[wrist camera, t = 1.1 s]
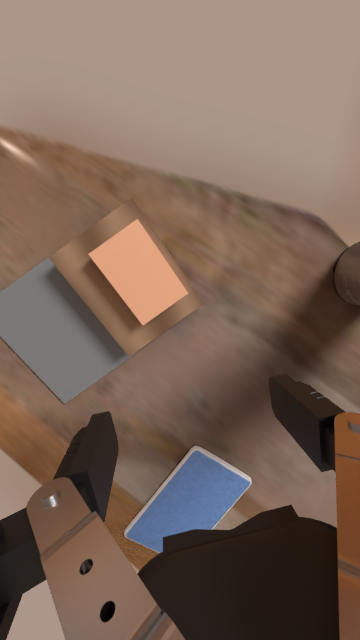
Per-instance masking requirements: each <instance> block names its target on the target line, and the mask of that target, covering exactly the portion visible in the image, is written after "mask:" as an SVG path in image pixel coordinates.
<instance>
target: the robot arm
mask: <svg viewBox="0 0 360 640" xmlns="http://www.w3.org/2000/svg"><path fill="white" fill-rule="evenodd" d="M334 282H335V287H336V290H337V292H338V294H339V295H340V297H341V298H342V299H343V300H344V301H346V302H348V303H350V304H353V305H358V306H360V242H358V243H355V244H353V245H352V246H351V247H349V248H348V249H347V250H346V251H345V252H344V253H343V254H342V256H341V257H340V259H339V261H338V263H337V265H336V269H335V273H334ZM269 385H270V395H271V405H272V409H273V412H274V414H275V416H276V418H277V419H278V420H279V421H280V423H281V424H282V425H283V426H284V427H285V429H286V430H287V431H288V432H289V433H290V435H291V436H292V437H293V438H294V439H295V441H296V442H297V443H298V444H299V445H300V447H301V448H302V449H303V450H304V451H305V453H306V454H307V455H308V456H309V457H310V459H311V460H312V461H313V462H314V463H315V465H316V466H317V467H318V468H319V469H320V471H321V472H324V471H328V470H332V469H333V470H334V471H335V474H336V511H337V528H336V527H334V526H332V525H329V524H327V523H324V522H322V521H319V520H315V519H311V518H305V517H298V515H297V514H296V512H295V510H294V508H293V507H292V505H289V506H285V507H281V508H277V509H273V510H269V511H265V512H261V513H259V514H257V515H256V516H254V517H252V518H251V519H249V520H247V521H246V522H244V523H242V524H241V525H239V526H237V527H236V528H234V529H232V530H206V529H194V530H190V531H186V532H182V533H178V534H174V535H170V536H166V537H163V552H161V553H159V554H158V555H156V556H155V557H154V558H152V559H151V560H150V561H149V562H148V563H147V564H146V565H145V566H144V567H143V568H142V569H141V570H140V571H139V572H138V574H137V573H136V572H135V570H134V568H133V567H132V565H131V564H130V562H129V561H128V559H127V558H126V556H125V555H124V553H123V552H122V550H121V549H120V547H119V546H118V544H117V543H116V541H115V539H114V538H113V536H112V535H111V533H110V532H109V530H108V529H107V527H106V526H105V524H104V521H105V516H106V511H107V506H108V501H109V496H110V491H111V486H112V481H113V476H114V471H115V466H116V461H117V456H118V440H117V436H116V432H115V428H114V424H113V421H112V417H111V414H110V412H109V411H108V412H103V413H98V414H94V415H92V417H91V419H90V422H89V424H88V426H87V427H85V428H82V429H81V430H80V431H79V432H78V433H77V434H76V435H75V436H74V437H73V439H72V442H71V444H70V447H69V448H68V450H67V452H66V455H65V456H64V458H63V460H62V462H61V464H60V466H59V468H58V470H57V472H56V474H55V476H54V478H53V480H51V481H49V482H48V483H46V484H44V485H43V486H42V487H40V488H39V489H38V490H37V491H36V492H35V493H34V494H33V495H32V497H31V498H30V500H29V502H28V504H27V507H26V508H24V509H22V510H20V511H18V512H16V513H14V514H12V515H10V516H8V517H6V518H4V519H2V520H0V640H6V638H7V635H8V633H9V630H10V627H11V624H12V622H13V619H14V616H15V613H16V611H17V608H18V605H19V603H20V600H21V597H22V594H23V593H25V592H26V591H28V590H30V589H31V588H33V587H35V586H36V585H38V584H39V583H41V582H43V581H45V580H46V579H47V582H48V585H49V588H50V591H51V594H52V598H53V601H54V604H55V607H56V610H57V614H58V617H59V620H60V623H61V626H62V630H63V633H64V636H65V639H66V640H360V413H354V412H345V411H344V410H342V409H341V408H339V407H338V406H337V405H335V404H334V403H333V402H331V401H330V400H329V399H327V398H326V397H324V396H323V395H322V394H320V393H319V392H317V391H316V390H315V389H314V388H312V387H311V386H310V385H307V384H304V383H302V382H299V381H298V382H295V381H294V380H293V379H291V378H290V377H289V376H288V375H286V374H282V375H278V376H273V377H270V379H269Z"/></svg>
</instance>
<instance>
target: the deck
mask: <svg viewBox="0 0 360 640" xmlns="http://www.w3.org/2000/svg"><path fill="white" fill-rule="evenodd" d="M136 219H138V220H139V222H140V223H141V225H142V226H143V228H144V229H145V230H146V232H147V233H148V235H149V236H150V238H151V239H152V241H153V242H154V244H155V245H156V247H157V248H158V250H159V251H160V252H161V254H162V255H163V257H164V258H165V260H166V261H167V263H168V264H169V266H170V267H171V269H172V270H173V271H174V273H175V274H176V276H177V277H178V279H179V280H180V282H181V283H182V285H183V286H184V288H185V289H186V290H187V292H188V294H187V295H185V296H184V297H183V298H181V299H180V300H178V301H177V302H176V303H174V304H173V305H171V306H170V307H168V308H167V309H166V310H164V311H163V312H161V313H160V314H159V315H157V316H156V317H154V318H153V319H152V320H150V321H149V322H147V323H146V324H145V325H142V324H141V323H140V321H139V320H138V319H137V317H136V316H135V315H134V313H133V312H132V311H131V309H130V308H129V307H128V306H127V304H126V303H125V302H124V300H123V299H122V298H121V296H120V295H119V294H118V292H117V291H116V290H115V289H114V287H113V286H112V285H111V283H110V282H109V281H108V279H107V278H106V277H105V275H104V274H103V273H102V272H101V270H100V269H99V268H98V266H97V265H96V264H95V262H94V261H93V260H92V258H91V257H90V256H89V255H88V254H89V253H91V252H92V251H93V250H95V249H96V248H97V247H99V246H100V245H102V244H103V243H104V242H106V241H107V240H109V239H110V238H111V237H113V236H114V235H116V234H117V233H118V232H120V231H121V230H123V229H124V228H125V227H127V226H128V225H129V224H131V223H132V222H134V221H135V220H136ZM49 259H50V260H51V261H52V263H53V264H54V265H55V266H56V268H57V269H58V270H59V271H60V272H61V274H62V275H63V276H64V277H65V279H66V280H67V281H68V282H69V284H70V285H71V286H72V287H73V288H74V290H75V291H76V292H77V293H78V295H79V296H80V297H81V298H82V300H83V301H84V302H85V303H86V304H87V306H88V307H89V308H90V309H91V311H92V312H93V313H94V314H95V316H96V317H97V318H98V319H99V320H100V322H101V323H102V324H103V325H104V327H105V328H106V329H107V330H108V332H109V333H110V334H111V335H112V336H113V338H114V339H115V340H116V341H117V343H118V344H119V345H120V346H121V348H122V349H123V350H124V351H125V352H126V354H127V355H128V356H131V355H132V354H134V353H135V352H137V351H138V350H139V349H141V348H142V347H144V346H145V345H146V344H148V343H149V342H151V341H152V340H153V339H155V338H156V337H158V336H159V335H160V334H162V333H163V332H165V331H166V330H167V329H169V328H170V327H172V326H173V325H175V324H176V323H177V322H179V321H180V320H182V319H183V318H184V317H186V316H187V315H189V314H190V313H191V312H193V311H194V310H196V309H197V308H198V307H200V306H201V305H203V302H202V301H201V299H200V298H199V296H198V295H197V293H196V292H195V290H194V289H193V287H192V286H191V284H190V283H189V281H188V280H187V278H186V277H185V275H184V274H183V272H182V271H181V269H180V268H179V266H178V265H177V263H176V262H175V261H174V259H173V258H172V256H171V255H170V253H169V252H168V250H167V249H166V247H165V246H164V244H163V243H162V241H161V240H160V238H159V237H158V235H157V234H156V232H155V231H154V229H153V228H152V226H151V225H150V223H149V222H148V220H147V219H146V217H145V216H144V215H143V213H142V212H141V210H140V209H139V207H138V206H137V204H136V203H135V201H134V200H133V198H131V199H129V200H128V201H127V202H125V203H124V204H122V205H121V206H120V207H118V208H117V209H116V210H114V211H113V212H111V213H110V214H109V215H107V216H106V217H104V218H103V219H102V220H100V221H99V222H97V223H96V224H95V225H93V226H92V227H91V228H89V229H88V230H86V231H85V232H84V233H82V234H81V235H79V236H78V237H77V238H75V239H74V240H73V241H71V242H70V243H68V244H67V245H66V246H64V247H63V248H61V249H60V250H59V251H57V252H56V253H55V254H53V255H52V256H50V257H49Z"/></svg>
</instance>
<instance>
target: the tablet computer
mask: <svg viewBox="0 0 360 640" xmlns="http://www.w3.org/2000/svg"><path fill="white" fill-rule="evenodd" d="M251 483H252V482H251V478H250V477H249V476H248V475H246V474H245V473H243V472H241V471H240V470H238V469H236V468H235V467H233V466H231V465H230V464H228V463H227V462H225V461H223V460H222V459H220V458H218V457H217V456H215V455H213V454H212V453H210V452H208V451H207V450H205V449H203V448H201V447H200V446H193V447H192V448H191V449H190V450H189V452H188V453H187V454H186V455H185V457H184V458H183V459H182V460H181V462H180V463H179V464H178V465H177V467H176V468H175V469H174V470H173V471H172V473H171V474H170V475H169V476H168V478H167V479H166V480H165V481H164V483H163V484H162V485H161V486H160V487H159V489H158V490H157V491H156V492H155V494H154V495H153V496H152V497H151V498H150V500H149V501H148V502H147V503H146V505H145V506H144V507H143V508H142V509H141V511H140V512H139V513H138V514H137V515H136V517H135V518H134V519H133V520H132V521H131V523H130V524H129V525H128V526H127V527H126V528H125V530H124V536H125V537H126V538H128V539H130V540H132V541H134V542H136V543H139V544H141V545H143V546H145V547H147V548H149V549H152V550H154V551H156V552H158V553H161V552H163V537H166V536H170V535H174V534H178V533H182V532H186V531H190V530H194V529H206V530H212V529H213V528H214V527H215V526H216V525H217V524H218V522H219V521H220V520H221V519H222V518H223V517H224V515H225V514H226V513H227V512H228V511H229V510H230V508H231V507H232V506H233V505H234V504H235V503H236V501H237V500H238V499H239V498H240V497H241V496H242V495H243V493H244V492H245V491H246V490H247V489H248V488H249V486H250V485H251Z"/></svg>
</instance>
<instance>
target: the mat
mask: <svg viewBox="0 0 360 640" xmlns="http://www.w3.org/2000/svg"><path fill="white" fill-rule="evenodd" d="M54 254H55V253H54ZM51 256H52V255H51ZM0 337H1V338H2V339H3V340H4V341H5V342H6V343H7V344H8V345H9V346H10V347H11V348H12V349H13V350H14V351H15V353H16V354H17V355H18V356H19V357H20V358H21V359H22V360H23V361H24V362H25V363H26V364H27V365H28V366H29V367H30V368H31V369H32V370H33V371H34V373H35V374H36V375H37V376H38V377H39V378H40V379H41V380H42V381H43V382H44V383H45V384H46V385H47V386H48V387H49V388H50V389H51V390H52V391H53V393H54V394H55V395H56V396H57V397H58V398H59V399H60V400H61V401H62V402H63V403H64V404H65V403H67V402H68V401H69V400H71V399H72V398H74V397H75V396H77V395H78V394H79V393H81V392H82V391H84V390H85V389H86V388H88V387H89V386H91V385H92V384H93V383H95V382H96V381H98V380H99V379H100V378H102V377H103V376H105V375H106V374H107V373H109V372H110V371H112V370H113V369H114V368H116V367H117V366H119V365H120V364H122V363H123V362H124V361H126V360H127V359H129V358H130V357H131V356H133V355H134V354H136V352H135V353H134V354H132V355H131V356H128V355H127V354H126V352H125V351H124V350H123V349H122V348H121V346H120V345H119V344H118V343H117V341H116V340H115V339H114V338H113V336H112V335H111V334H110V333H109V332H108V330H107V329H106V328H105V327H104V325H103V324H102V323H101V322H100V320H99V319H98V318H97V317H96V316H95V314H94V313H93V312H92V311H91V309H90V308H89V307H88V306H87V304H86V303H85V302H84V301H83V300H82V298H81V297H80V296H79V295H78V293H77V292H76V291H75V290H74V288H73V287H72V286H71V285H70V284H69V282H68V281H67V280H66V279H65V277H64V276H63V275H62V274H61V272H60V271H59V270H58V269H57V268H56V266H55V265H54V264H53V263H52V261H51V260H50V259H49V257H48V258H47V259H46V260H44V261H43V262H41V263H40V264H39V265H37V266H36V267H35V268H33V269H32V270H30V271H29V272H28V273H26V274H25V275H23V276H22V277H21V278H19V279H18V280H16V281H15V282H14V283H12V284H11V285H10V286H8V287H7V288H5V289H4V290H3V291H1V292H0Z"/></svg>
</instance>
